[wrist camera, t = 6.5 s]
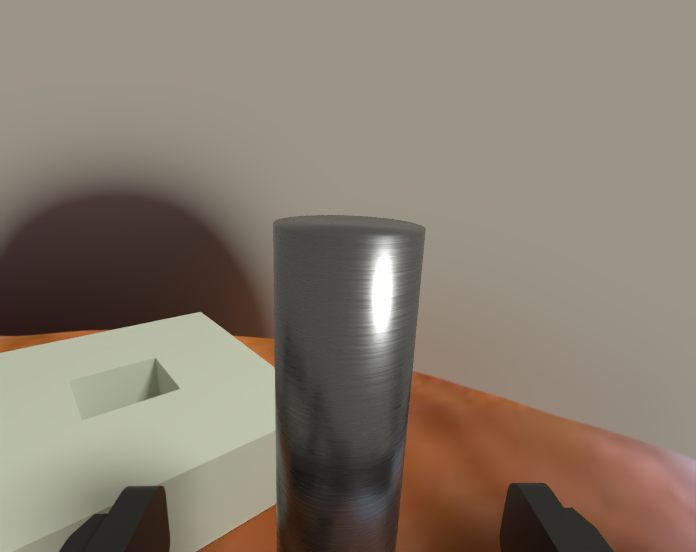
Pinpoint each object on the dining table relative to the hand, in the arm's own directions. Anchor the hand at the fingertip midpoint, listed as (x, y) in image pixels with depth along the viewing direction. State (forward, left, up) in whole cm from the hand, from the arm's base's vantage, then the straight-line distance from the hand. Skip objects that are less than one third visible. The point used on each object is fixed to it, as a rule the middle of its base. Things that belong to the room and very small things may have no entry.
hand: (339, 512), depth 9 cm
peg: (+1, +1, -10) cm, 10 cm away
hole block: (-1, +18, -10) cm, 20 cm away
